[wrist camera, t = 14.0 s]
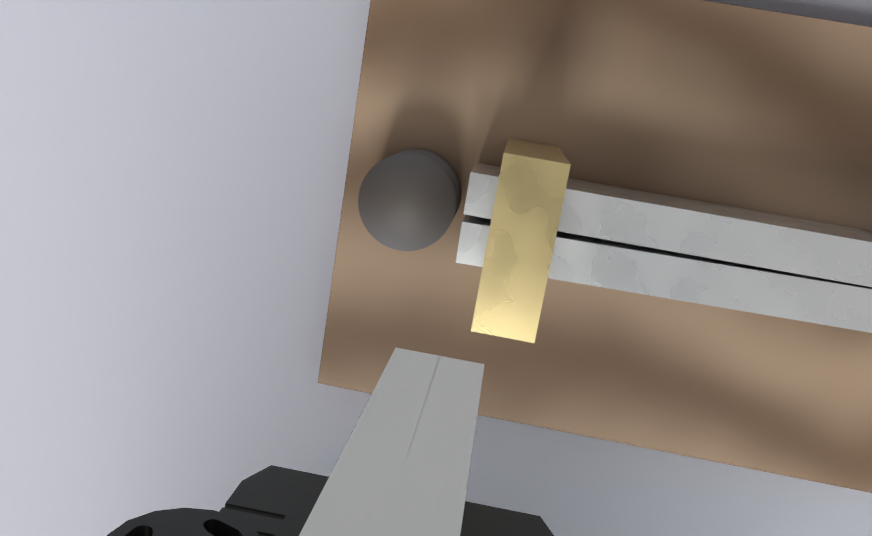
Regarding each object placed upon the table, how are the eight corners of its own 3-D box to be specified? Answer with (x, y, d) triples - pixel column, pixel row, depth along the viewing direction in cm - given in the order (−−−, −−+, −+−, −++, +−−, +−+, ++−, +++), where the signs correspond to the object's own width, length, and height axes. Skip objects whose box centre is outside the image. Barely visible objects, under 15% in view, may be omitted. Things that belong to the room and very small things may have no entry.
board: (915, 491, 33) (969, 547, 29) (323, 374, 35) (297, 411, 31) (1061, 61, 29) (1148, 55, 25) (382, -47, 31) (361, -68, 27)
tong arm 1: (463, 242, 32) (455, 262, 28) (469, 205, 32) (462, 221, 28) (913, 317, 31) (969, 349, 27) (924, 280, 30) (983, 307, 26)
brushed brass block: (531, 283, 32) (534, 343, 24) (483, 274, 32) (470, 331, 24) (558, 146, 31) (570, 164, 23) (508, 138, 31) (503, 152, 23)
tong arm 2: (470, 199, 32) (463, 214, 28) (477, 162, 31) (470, 171, 27) (924, 279, 30) (983, 306, 26) (936, 242, 30) (997, 264, 26)
